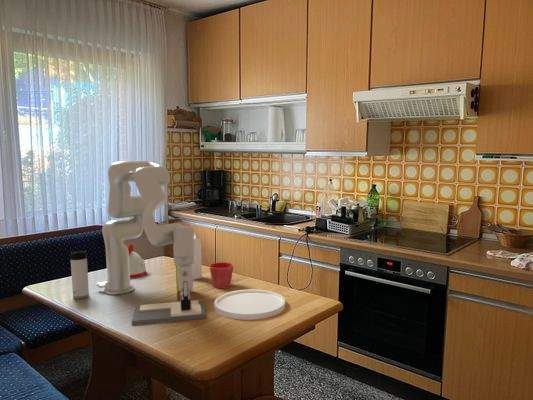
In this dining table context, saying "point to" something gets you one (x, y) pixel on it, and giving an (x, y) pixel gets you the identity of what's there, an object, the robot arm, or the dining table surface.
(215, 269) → the flower pot
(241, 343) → the dining table surface
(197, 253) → the milk
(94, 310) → the dining table surface
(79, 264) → the travel mug
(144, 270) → the kitchen timer
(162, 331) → the dining table surface
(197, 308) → the cream and peach block
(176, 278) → the food package
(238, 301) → the plate
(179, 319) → the mat
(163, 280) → the dining table surface
